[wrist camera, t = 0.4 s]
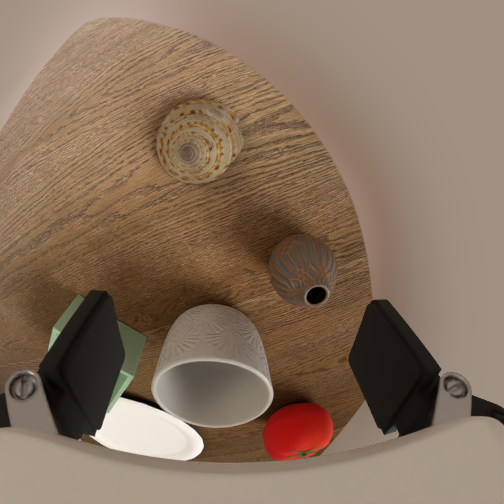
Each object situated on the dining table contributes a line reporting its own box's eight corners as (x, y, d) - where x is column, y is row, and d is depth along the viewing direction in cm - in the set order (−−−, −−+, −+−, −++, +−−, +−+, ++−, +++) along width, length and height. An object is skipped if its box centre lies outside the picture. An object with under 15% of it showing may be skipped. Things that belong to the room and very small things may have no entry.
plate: (48, 392, 40) (46, 398, 38) (151, 378, 38) (149, 386, 36) (127, 458, 51) (126, 463, 49) (226, 452, 49) (226, 458, 47)
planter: (229, 274, 31) (229, 337, 21) (278, 342, 36) (293, 406, 26) (148, 319, 33) (126, 381, 23) (204, 375, 38) (201, 436, 28)
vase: (322, 221, 30) (354, 252, 22) (325, 276, 32) (352, 318, 24) (260, 231, 30) (272, 268, 22) (269, 286, 32) (281, 334, 24)
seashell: (265, 137, 24) (203, 196, 22) (244, 150, 29) (192, 200, 28) (206, 75, 21) (137, 128, 20) (194, 99, 26) (138, 146, 25)
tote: (78, 294, 31) (53, 327, 24) (147, 337, 34) (134, 376, 27) (62, 344, 34) (43, 375, 27) (120, 379, 38) (108, 413, 31)
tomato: (245, 413, 42) (249, 461, 33) (307, 382, 40) (322, 433, 31) (280, 432, 46) (287, 474, 37) (335, 406, 44) (350, 448, 35)
